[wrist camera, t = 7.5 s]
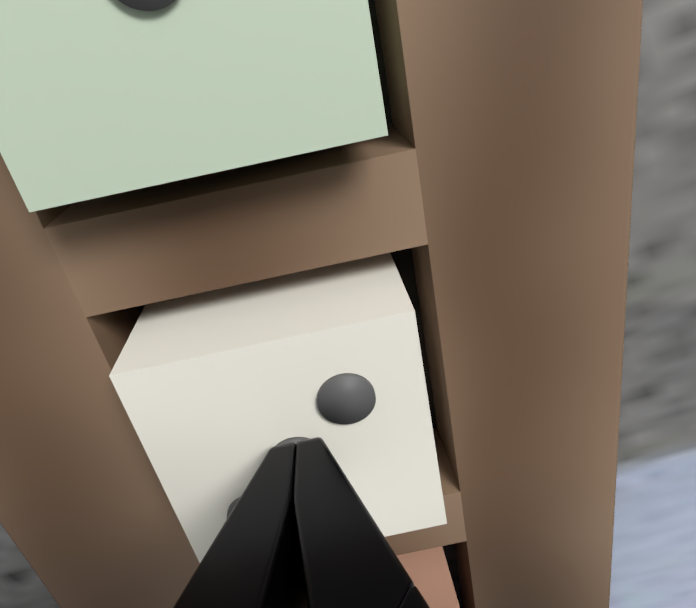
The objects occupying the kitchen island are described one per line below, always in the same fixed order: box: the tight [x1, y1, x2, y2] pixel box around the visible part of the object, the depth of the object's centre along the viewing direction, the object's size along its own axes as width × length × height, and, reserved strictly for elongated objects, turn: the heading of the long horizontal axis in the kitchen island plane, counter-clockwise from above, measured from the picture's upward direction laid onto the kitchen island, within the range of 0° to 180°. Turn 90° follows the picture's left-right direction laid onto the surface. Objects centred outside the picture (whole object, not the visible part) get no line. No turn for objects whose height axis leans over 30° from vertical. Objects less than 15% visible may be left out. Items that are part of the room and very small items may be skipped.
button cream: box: [109, 253, 447, 563], centre depth 10 cm, size 4×4×3 cm
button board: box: [0, 0, 643, 608], centre depth 11 cm, size 12×24×2 cm, turn 11°
